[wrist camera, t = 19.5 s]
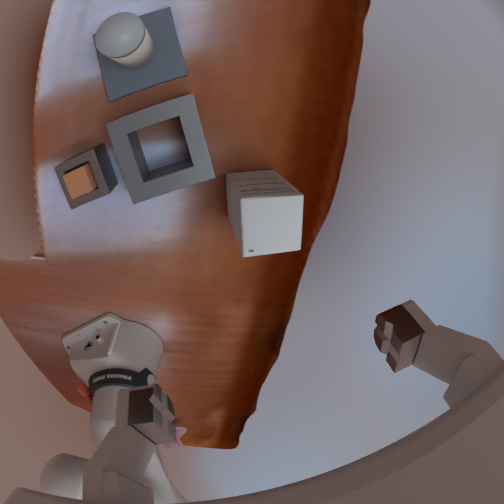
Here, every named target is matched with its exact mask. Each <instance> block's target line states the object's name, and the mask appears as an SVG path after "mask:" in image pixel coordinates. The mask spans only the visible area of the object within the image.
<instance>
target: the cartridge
mask: <svg viewBox="0 0 504 504" xmlns="http://www.w3.org/2000/svg"><path fill="white" fill-rule="evenodd" d="M95 44H96V47H97V49H98V50H99V51H100V52H101V53H102V54H104V55H106V56H107V57H109V58H111V59H113V60H114V61H116V62H118V63H120V64H121V65H123V66H125V67H126V68H128V69H132V70H137V69H142V68H144V67H146V66H147V65H149V64H150V63H151V62H152V61H153V59H154V57H155V55H156V46H155V43H154V42H153V40H152V38H151V36H150V35H149V33H148V31H147V29H146V28H145V26H144V24H143V22H142V21H141V19H140V18H139V17H138V16H136V15H135V14H132V13H127V12H124V13H118V14H115V15H113V16H111V17H109V18H107V19H106V20H105V21H104V22H103V23H102V24H101V25H100V27H99V28H98V30H97V32H96V36H95Z"/></svg>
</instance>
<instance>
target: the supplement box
mask: <svg viewBox="0 0 504 504" xmlns="http://www.w3.org/2000/svg"><path fill="white" fill-rule="evenodd" d="M226 191H227V207H228V218H229V220H230V223H231V226H232V229H233V231H234V234H235V237H236V240H237V243H238V245H239V248H240V251H241V253H242V256H243V257H249V256H257V255H265V254H273V253H281V252H289V251H296V250H300V249H301V236H302V218H303V197H304V196H303V194H301V193H300V192H299V191H298V190H297V189H296V188H294V187H293V186H292V185H291V184H290V183H289V182H287V181H286V180H285V179H284V178H283V177H282V176H280V175H279V174H278V173H277V172H275V171H274V170H262V171H247V172H235V173H226Z"/></svg>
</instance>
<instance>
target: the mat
mask: <svg viewBox="0 0 504 504" xmlns="http://www.w3.org/2000/svg"><path fill="white" fill-rule="evenodd" d="M139 18H140V19H141V21H142V22H143V24H144V26H145V28H146V29H147V31H148V33H149V35H150V36H151V38H152V40H153V42H154V43H155V46H156V55H155V57H154V59H153V61H152V62H151V63H150V64H149V65H147V66H146V67H144V68H142V69H137V70H132V69H128V68H126V67H125V66H123V65H121V64H120V63H118V62H116V61H114V60H113V59H111V58H109V57H107V56H106V55H104V54H102V53H101V52H100V51H99V50H98V49H97V47H96V44H95V47H96V52H97V56H98V60H99V64H100V68H101V72H102V76H103V80H104V84H105V87H106V91H107V95H108V98H109V102H112V101H114V100H117V99H119V98H122V97H124V96H127V95H129V94H132V93H135V92H137V91H140V90H143V89H146V88H148V87H151V86H154V85H157V84H160V83H163V82H166V81H170V80H173V79H176V78H180V77H183V76H186V75H187V72H186V68H185V64H184V61H183V57H182V53H181V49H180V45H179V41H178V37H177V33H176V30H175V26H174V22H173V18H172V14H171V10H170V7H168V8H165V9H161V10H158V11H154V12H151V13H148V14H145V15H142V16H139ZM95 36H96V34H94V35H93V38H94V43H95Z"/></svg>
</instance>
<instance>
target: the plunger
mask: <svg viewBox="0 0 504 504" xmlns="http://www.w3.org/2000/svg"><path fill="white" fill-rule="evenodd" d="M63 179H64V181H65V184H66V186H67V189H68V191H69V194H70V196H71V199H75V198H77V197H79V196H81V195H84V194H86V193H88V192H90V191H93V190H94V189H95V188H96V187H97V186H98V184H97V182H96V179H95V176H94V174H93V171H92V168H91V166H90V163H89V161H87V162H85V163H82V164H80V165H78V166H77V167H75V168H74V169H72V170H71V171H69V172H68V173H66V174H65V175H64V176H63Z"/></svg>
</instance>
